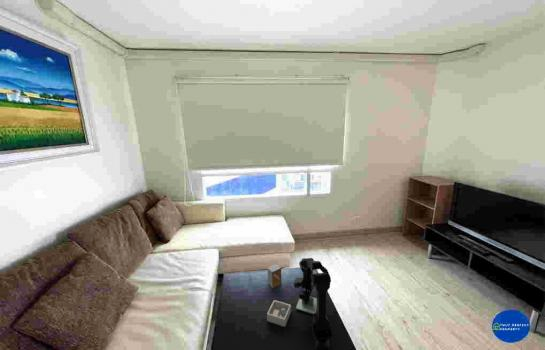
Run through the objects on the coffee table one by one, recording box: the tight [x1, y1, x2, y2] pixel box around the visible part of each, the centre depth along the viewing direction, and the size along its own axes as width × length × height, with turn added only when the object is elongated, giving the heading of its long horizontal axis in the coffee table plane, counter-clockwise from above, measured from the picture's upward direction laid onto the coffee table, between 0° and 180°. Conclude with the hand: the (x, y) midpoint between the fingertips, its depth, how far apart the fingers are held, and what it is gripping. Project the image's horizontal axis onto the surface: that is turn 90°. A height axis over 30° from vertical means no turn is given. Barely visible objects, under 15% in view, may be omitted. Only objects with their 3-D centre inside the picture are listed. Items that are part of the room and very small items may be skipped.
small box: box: [267, 263, 282, 289], centre depth 153 cm, size 8×6×13 cm
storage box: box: [266, 299, 292, 328], centre depth 127 cm, size 11×11×5 cm
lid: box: [295, 296, 317, 315], centre depth 134 cm, size 12×12×6 cm
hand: (307, 299), depth 134 cm, fingers open, 9 cm apart
